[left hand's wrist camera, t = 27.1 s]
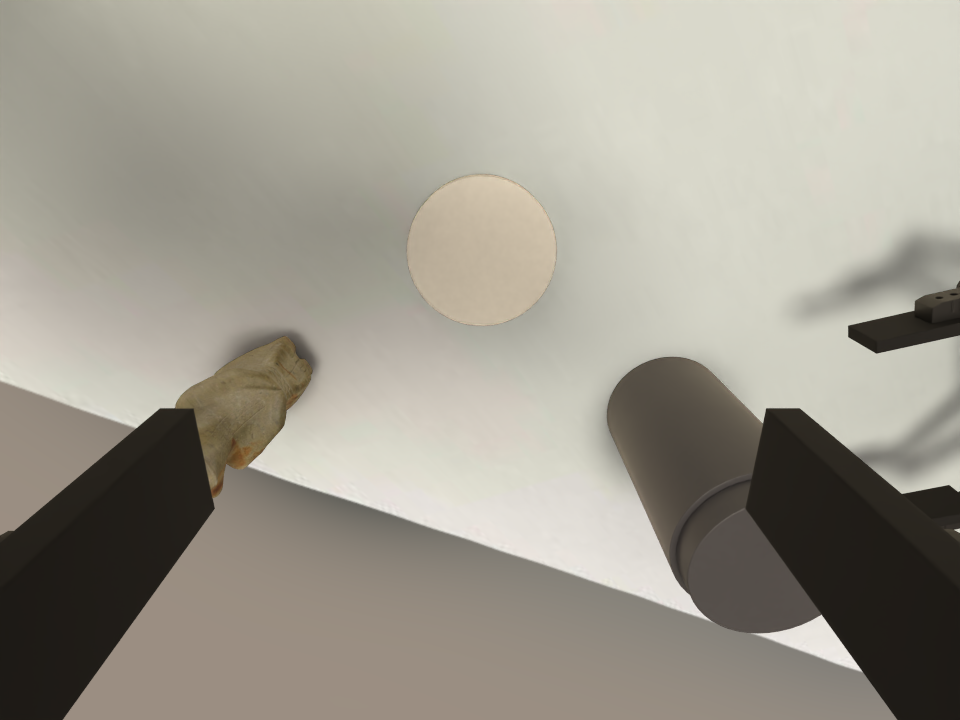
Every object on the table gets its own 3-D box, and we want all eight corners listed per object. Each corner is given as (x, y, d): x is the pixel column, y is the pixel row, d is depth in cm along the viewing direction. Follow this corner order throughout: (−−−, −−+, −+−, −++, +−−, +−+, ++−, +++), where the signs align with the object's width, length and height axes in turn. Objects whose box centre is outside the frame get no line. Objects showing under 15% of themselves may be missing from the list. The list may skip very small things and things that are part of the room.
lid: (501, 142, 36) (503, 143, 35) (579, 267, 40) (584, 274, 38) (381, 229, 39) (376, 234, 37) (463, 342, 42) (463, 352, 40)
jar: (705, 466, 46) (829, 646, 29) (596, 454, 45) (661, 629, 29) (738, 364, 42) (898, 503, 26) (621, 350, 42) (710, 482, 26)
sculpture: (211, 358, 42) (76, 467, 28) (289, 315, 41) (190, 406, 27) (257, 419, 44) (153, 550, 30) (334, 379, 42) (263, 496, 29)
